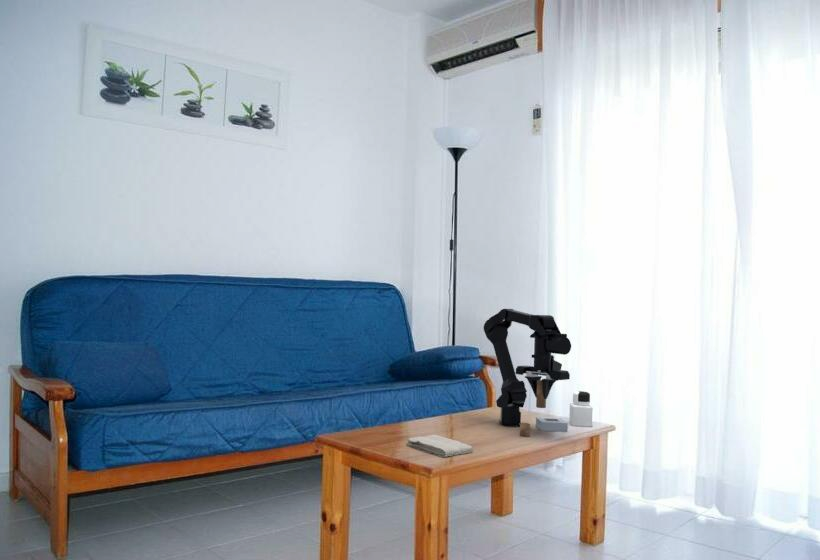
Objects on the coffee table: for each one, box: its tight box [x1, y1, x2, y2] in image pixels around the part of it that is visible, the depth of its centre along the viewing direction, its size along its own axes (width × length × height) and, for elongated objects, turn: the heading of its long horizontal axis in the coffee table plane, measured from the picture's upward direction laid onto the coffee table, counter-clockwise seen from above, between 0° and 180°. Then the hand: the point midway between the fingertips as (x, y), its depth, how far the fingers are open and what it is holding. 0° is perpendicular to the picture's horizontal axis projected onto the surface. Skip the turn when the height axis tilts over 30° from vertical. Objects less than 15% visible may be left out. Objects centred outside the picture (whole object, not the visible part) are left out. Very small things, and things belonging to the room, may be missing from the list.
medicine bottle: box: [568, 390, 594, 428], centre depth 237 cm, size 7×7×12 cm
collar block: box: [535, 416, 569, 433], centre depth 227 cm, size 9×9×3 cm
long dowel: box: [535, 379, 547, 409], centre depth 218 cm, size 3×3×9 cm
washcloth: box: [406, 434, 474, 458], centre depth 190 cm, size 12×18×3 cm, turn 40°
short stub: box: [519, 422, 531, 438], centre depth 213 cm, size 3×3×4 cm
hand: (541, 398), depth 218 cm, fingers closed on long dowel, 3 cm apart
